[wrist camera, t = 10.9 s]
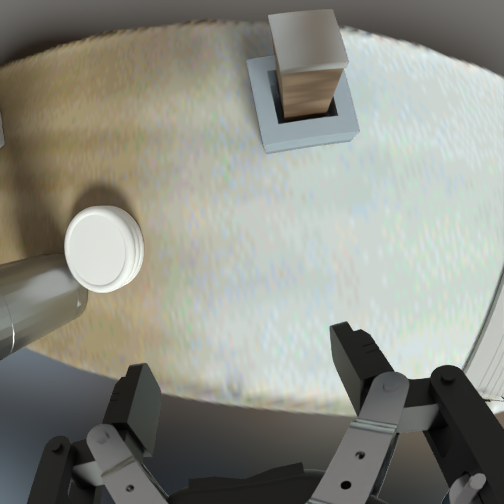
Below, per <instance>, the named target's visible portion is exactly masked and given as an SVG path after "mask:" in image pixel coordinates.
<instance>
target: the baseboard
mask: <svg viewBox="0 0 504 504" xmlns="http://www.w3.org/2000/svg"><path fill="white" fill-rule="evenodd" d="M463 372H464V374H465V375H466V376H467V378H468V379H469V380H470V382H471V383H472V385H473V386H474V387H475V389H476V390H477V391H478V393H479V394H480V396H483V397H484V396H485V397H493V398H499V397H502V395H503V393H504V273H503V276H502V279H501V282H500V285H499V288H498V291H497V294H496V297H495V300H494V302H493V305H492V308H491V310H490V313H489V316H488V318H487V321H486V323H485V326H484V328H483V330H482V333H481V335H480V337H479V340H478V342H477V344H476V346H475V349H474V351H473V353H472V355H471V357H470V359H469V361H468V363H467V365H466V367H465V369H464V371H463ZM502 398H503V397H502ZM503 399H504V398H503ZM483 400H484V399H483ZM484 401H485V402H486V401H489V402H491V401H490V399H486V400H484ZM495 401H498V400H495ZM503 401H504V400H503Z"/></svg>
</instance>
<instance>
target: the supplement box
mask: <svg viewBox="0 0 504 504" xmlns="http://www.w3.org/2000/svg"><path fill="white" fill-rule="evenodd" d="M4 144H5V141H4V134H3V127H2V119H1V112H0V148H1V147H2V146H3V145H4Z"/></svg>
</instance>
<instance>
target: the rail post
mask: <svg viewBox="0 0 504 504" xmlns="http://www.w3.org/2000/svg"><path fill="white" fill-rule="evenodd" d="M268 20H269V25H270V30H271V34H272V39H273V47H274V56H275V65H276V74H277V83H278V92H279V97H280V103H281V108H282V113H283V118H284V123H289V122H296V121H302V120H309V119H316V118H324V117H325V115H326V113H327V110H328V108H329V105H330V102H331V100H332V97H333V95H334V92H335V90H336V87H337V85H338V82H339V79H340V77H341V74H342V72H343V69H344V68H347V65H348V63H349V60H348V57H347V53H346V50H345V46H344V43H343V40H342V36H341V33H340V30H339V27H338V24H337V22H336V18H335V15H334V12H333V9H327V10H310V11H298V12H289V13H280V14H272V15H268Z"/></svg>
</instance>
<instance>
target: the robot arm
mask: <svg viewBox="0 0 504 504" xmlns="http://www.w3.org/2000/svg"><path fill="white" fill-rule="evenodd" d="M87 297H88V292H87V288H85V287H84V286H82V285H81V284H80V283H79V282H78V281H77V280H76V279H75V277H74V276H73V274H72V273H71V271H70V269H69V267H68V264H67V261H66V257H65V255H64V254H60V253H58V254H51V255H47V256H45V255H38V256H34V257H30V258H26V259H21V260H17V261H13V262H9V263H5V264H1V265H0V361H1V360H3V359H5V358H6V357H8V356H10V355H11V354H13V353H15V352H16V351H18V350H20V349H22V348H24V347H25V346H27V345H29V344H31V343H32V342H34V341H36V340H38V339H40V338H41V337H43V336H45V335H47V334H48V333H50V332H52V331H54V330H56V329H57V328H59V327H61V326H63V325H65V324H66V323H68V322H70V321H72V320H74V319H75V318H77V317H79V316H80V315H81V314H82V313H83V311H84V309H85V307H86V304H87ZM330 339H331V350H332V357H333V362H334V365H335V367H336V370H337V372H338V374H339V376H340V378H341V381H342V383H343V385H344V387H345V389H346V392H347V394H348V396H349V398H350V401H351V403H352V405H353V407H354V410H355V412H356V414H357V416H358V418H357V420H356V421H352V422H351V424H350V426H349V428H348V429H347V432H346V434H345V436H344V438H343V440H342V442H341V444H340V446H339V448H338V450H337V452H336V454H335V456H334V458H333V459H332V461H331V463H330V465H329V467H328V469H327V471H321V470H313V469H303V465H302V462H301V463H296V464H292V465H287V466H282V467H277V468H273V469H271V470H268V471H265V472H263V473H260V474H258V475H255V476H253V477H250V478H247V479H234V478H223V477H208V478H196V479H189V487H186V488H183V489H180V490H178V491H177V492H175V493H173V494H172V495H170V496H168V495H167V494H166V493H165V492H164V490H163V489H162V488H161V487H160V486H159V484H158V483H157V482H156V480H155V479H154V478H153V477H152V475H151V474H150V473H149V471H148V470H147V469H146V467H145V466H144V465H143V464H142V459H143V457H152V456H153V450H154V443H155V437H156V430H157V424H158V419H159V412H160V407H161V402H162V395H161V390H160V387H159V385H158V383H157V382H156V380H155V378H154V376H153V374H152V372H151V370H150V368H149V366H148V364H147V363H141V364H134V365H130V366H129V368H128V371H127V374H126V377H121V379H120V380H119V381H118V382H117V383H116V385H115V387H114V390H113V393H112V395H111V398H110V402H109V404H108V407H107V410H106V413H105V416H104V419H103V422H102V424H101V425H98V426H96V427H94V428H93V429H92V430H91V431H90V432H89V434H88V436H87V439H85V440H81V441H78V442H74V443H71V442H70V440H69V439H68V438H67V437H65V436H57V437H54V438H52V439H51V440H50V441H49V442H48V443H47V444H46V446H45V448H44V451H43V454H42V457H41V460H40V463H39V466H38V469H37V472H36V475H35V478H34V482H33V485H32V488H31V491H30V495H29V498H28V502H27V504H100V503H101V496H102V489H103V484H105V486H106V487H107V489H108V491H109V493H110V494H111V496H112V498H113V500H114V501H115V503H116V504H389V503H387V502H385V501H383V500H380V499H379V498H377V496H378V494H379V491H380V489H381V486H382V484H383V482H384V478H385V476H386V473H387V470H388V467H389V464H390V461H391V459H392V456H393V453H394V450H395V448H396V445H397V442H398V439H399V436H400V433H403V432H413V431H421V430H422V431H423V433H424V435H425V437H426V439H427V441H428V444H429V446H430V447H431V450H432V452H433V454H434V456H435V458H436V460H437V462H438V464H439V467H440V469H441V471H442V473H443V475H444V478H445V480H446V482H447V484H448V487H449V491H448V493H447V494H446V495H445V497H444V499H443V500H442V503H441V504H504V429H503V428H502V426H501V425H500V423H499V422H498V420H497V419H496V417H495V416H494V414H493V413H492V411H491V410H490V408H489V407H488V406H487V404H486V403H485V401H484V400H483V398H482V397H481V396H480V394H479V393H478V391H477V390H476V389H475V387H474V386H473V385H472V383H471V382H470V380H469V379H468V378H467V376H466V375H465V374H464V372H463V371H462V370H461V369H460V368H458V367H456V366H452V365H444V366H440V367H438V368H436V369H435V370H434V371H433V372H432V374H431V377H430V378H424V379H408V378H407V377H406V376H405V375H403V374H401V373H399V372H395V371H394V370H393V368H392V367H391V365H390V364H389V362H388V361H387V359H386V358H385V356H384V355H383V353H382V352H381V350H379V347H378V346H377V344H375V341H374V340H373V338H372V337H371V335H370V334H368V333H367V332H365V331H363V330H361V329H360V330H357V331H353V330H352V328H351V327H350V325H349V323H348V322H347V321H346V322H342V323H339V324H335V325H331V326H330ZM70 480H71V481H72V484H71V488H70V492H69V497H68V494H67V493H68V487H69V483H70Z"/></svg>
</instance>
